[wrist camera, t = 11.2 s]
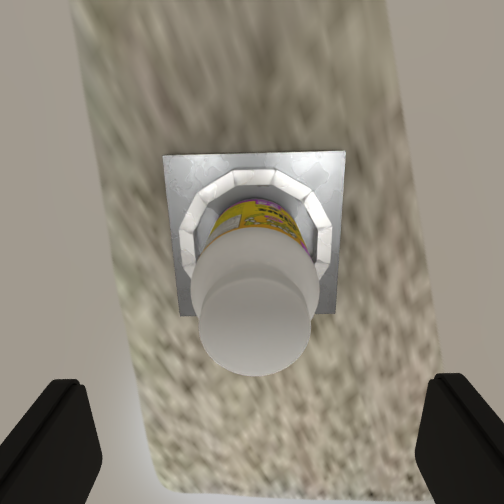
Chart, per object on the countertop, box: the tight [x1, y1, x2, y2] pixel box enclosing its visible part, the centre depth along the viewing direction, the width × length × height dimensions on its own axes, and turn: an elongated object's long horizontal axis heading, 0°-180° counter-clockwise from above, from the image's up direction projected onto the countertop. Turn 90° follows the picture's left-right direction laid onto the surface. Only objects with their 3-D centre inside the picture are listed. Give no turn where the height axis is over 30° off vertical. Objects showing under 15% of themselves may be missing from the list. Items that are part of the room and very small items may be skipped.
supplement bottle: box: [190, 198, 320, 376], centre depth 20 cm, size 7×7×13 cm
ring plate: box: [162, 150, 346, 316], centre depth 26 cm, size 13×13×2 cm
